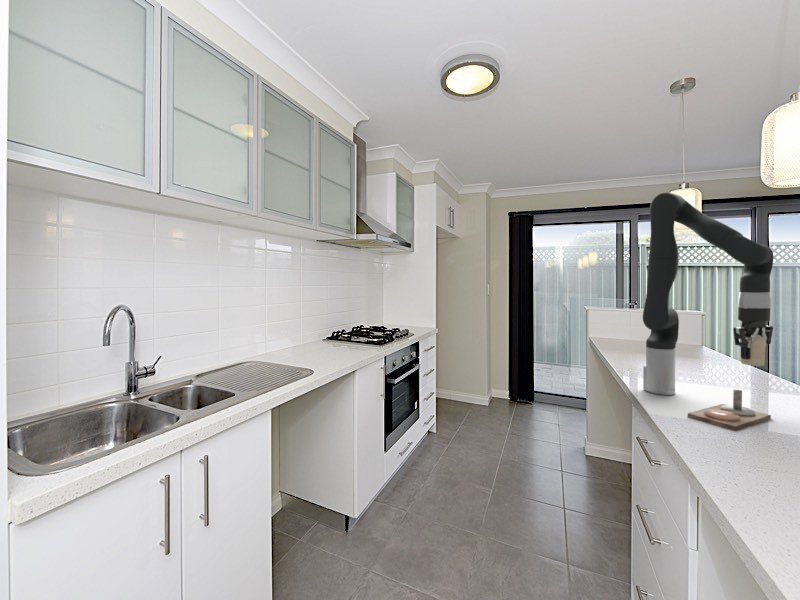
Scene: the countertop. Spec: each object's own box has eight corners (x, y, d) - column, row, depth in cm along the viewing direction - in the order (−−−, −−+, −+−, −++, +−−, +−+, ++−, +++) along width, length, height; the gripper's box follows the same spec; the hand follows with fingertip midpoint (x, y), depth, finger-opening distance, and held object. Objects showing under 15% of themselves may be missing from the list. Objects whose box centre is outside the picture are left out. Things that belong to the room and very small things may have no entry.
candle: (768, 366, 115) (769, 335, 114) (746, 365, 117) (747, 334, 116) (758, 363, 120) (759, 332, 119) (737, 362, 122) (738, 332, 121)
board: (687, 416, 114) (687, 391, 114) (723, 407, 122) (723, 383, 122) (735, 430, 103) (735, 402, 103) (770, 418, 111) (771, 393, 111)
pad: (698, 414, 113) (698, 411, 113) (713, 410, 117) (713, 407, 116) (730, 422, 106) (730, 420, 106) (745, 418, 109) (745, 415, 109)
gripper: (756, 305, 123) (755, 354, 123) (724, 306, 119) (722, 357, 120) (784, 306, 115) (783, 359, 116) (751, 307, 112) (749, 362, 113)
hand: (752, 358), depth 118 cm, fingers closed on candle, 5 cm apart
